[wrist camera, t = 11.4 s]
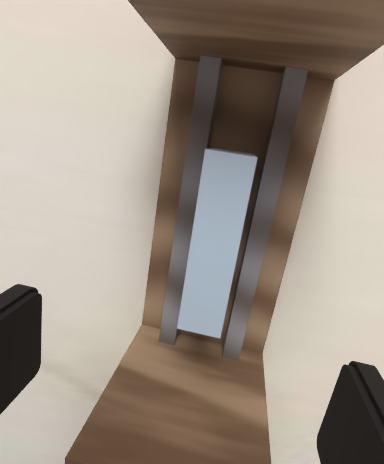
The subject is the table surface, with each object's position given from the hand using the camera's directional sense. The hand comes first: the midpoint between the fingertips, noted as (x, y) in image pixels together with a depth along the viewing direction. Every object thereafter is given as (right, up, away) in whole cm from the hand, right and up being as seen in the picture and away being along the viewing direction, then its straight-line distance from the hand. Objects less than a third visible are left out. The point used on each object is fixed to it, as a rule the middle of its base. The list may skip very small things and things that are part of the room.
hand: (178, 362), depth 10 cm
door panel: (+3, +5, +18) cm, 19 cm away
